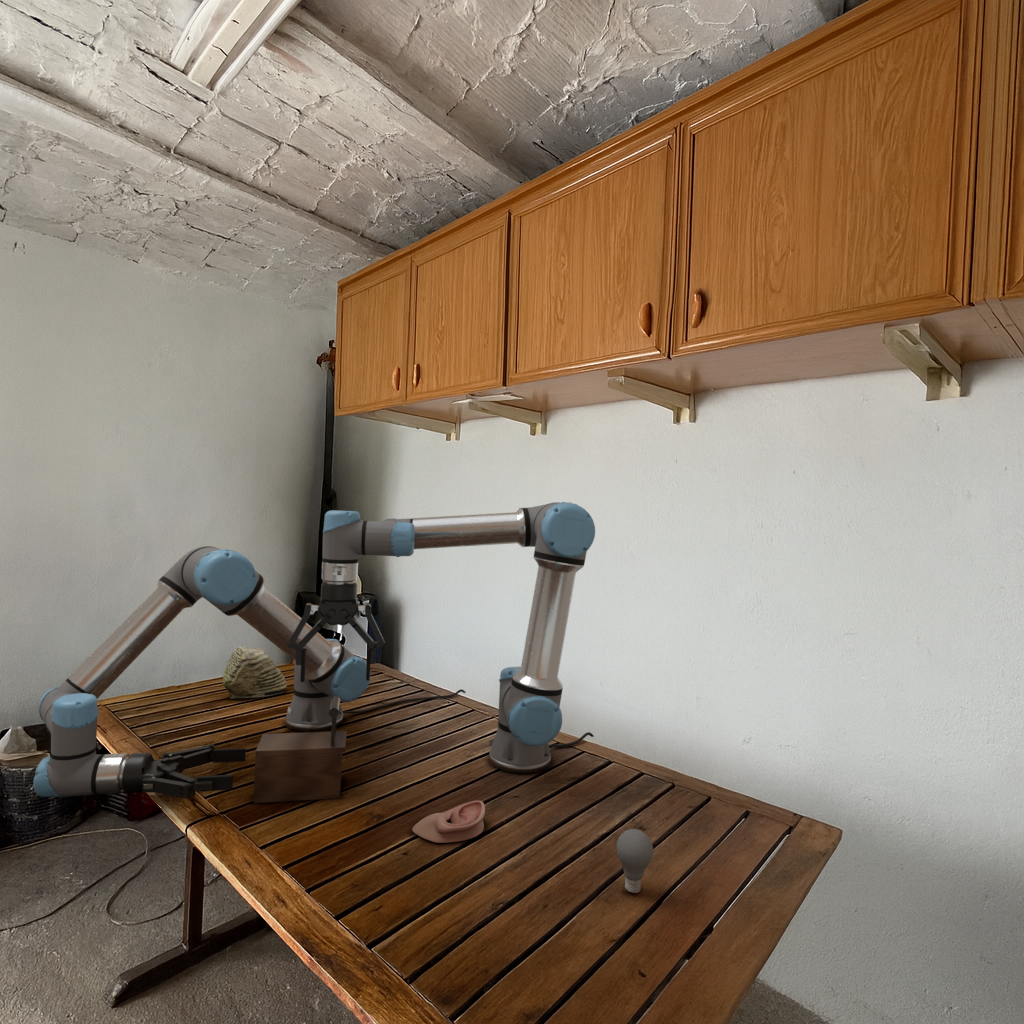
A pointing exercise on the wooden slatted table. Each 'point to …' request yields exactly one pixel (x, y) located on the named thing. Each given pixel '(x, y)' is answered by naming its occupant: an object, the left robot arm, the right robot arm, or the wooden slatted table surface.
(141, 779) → the left robot arm
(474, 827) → the anatomical model
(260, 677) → the fossil
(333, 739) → the lid
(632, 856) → the light bulb
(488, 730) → the wooden slatted table surface
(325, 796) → the chest
